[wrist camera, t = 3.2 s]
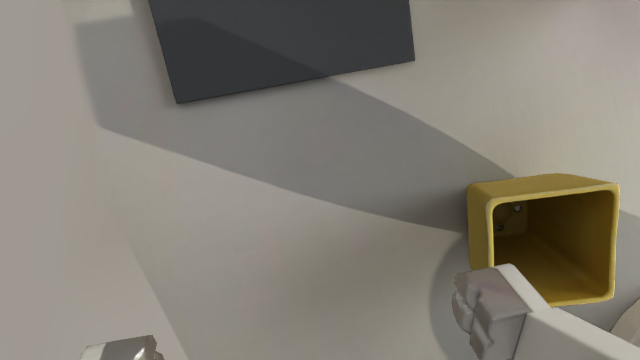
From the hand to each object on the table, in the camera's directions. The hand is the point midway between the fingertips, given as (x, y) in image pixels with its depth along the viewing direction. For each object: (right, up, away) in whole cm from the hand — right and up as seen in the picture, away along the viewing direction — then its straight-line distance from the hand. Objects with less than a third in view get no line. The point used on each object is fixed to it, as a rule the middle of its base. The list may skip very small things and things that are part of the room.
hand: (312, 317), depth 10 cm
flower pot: (+16, +1, +25) cm, 30 cm away
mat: (-3, +18, +20) cm, 28 cm away
